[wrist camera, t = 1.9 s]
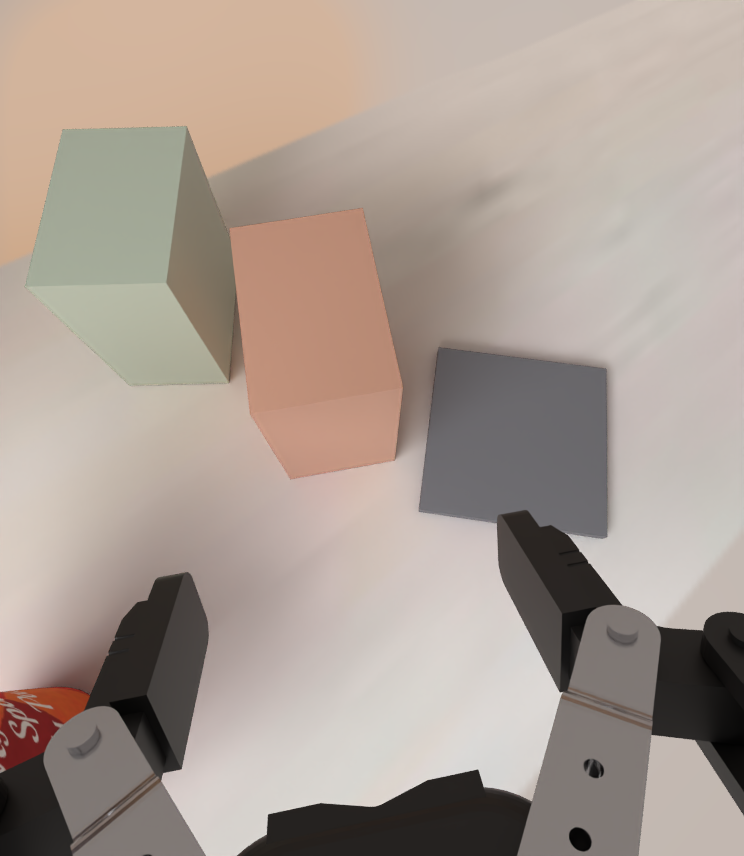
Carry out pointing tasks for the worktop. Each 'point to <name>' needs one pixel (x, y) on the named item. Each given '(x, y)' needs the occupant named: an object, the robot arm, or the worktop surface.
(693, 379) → the worktop surface
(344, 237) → the salmon orange block
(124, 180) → the sage green block
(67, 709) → the paper cup
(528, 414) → the felt coaster
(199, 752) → the worktop surface
